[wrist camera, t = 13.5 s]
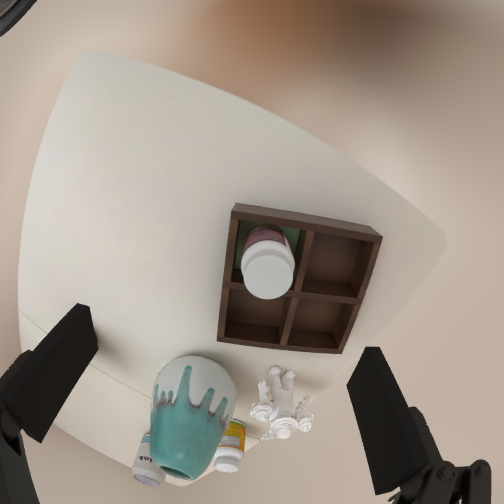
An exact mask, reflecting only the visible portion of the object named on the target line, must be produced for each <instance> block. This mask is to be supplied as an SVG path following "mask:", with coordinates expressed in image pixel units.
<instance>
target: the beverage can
mask: <svg viewBox="0 0 504 504" xmlns="http://www.w3.org/2000/svg"><path fill="white" fill-rule="evenodd" d="M132 471H133V477H134V478H135V479H136V480H138V481H139V482H142V483H144V484H147V485H151V486H159V485H160V483H162V482H163V481H164V480H165V476H166V473H164V472H162V471H161V470H159V469H158V468H157V467H155V465H154V464H153V462H152V459H151V456H150V434H145V435H144V436H143V438H142V441H141V444H140V446H139V449H138V452H137V455H136V458H135V461H134V464H133V467H132Z"/></svg>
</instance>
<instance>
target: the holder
mask: <svg viewBox="0 0 504 504" xmlns="http://www.w3.org/2000/svg"><path fill="white" fill-rule="evenodd" d="M262 224H270V225H275V226H277V227H279V228H280V229H281V230H283V232H284V233H285V234H286V236H287V239H288V242H289V245H290V248H291V251H292V255H293V257H294V261H295V267H294V272H293V281H292V284H291V286H290V288H289V289H288V291H287V292H286V293H285V294H283V295H282V296H280V297H277V298H274V299H261V298H258V297H256V296H254V295H253V294H252V293H250V292H249V290H248V289H247V288H246V286H245V283H244V276H243V274H242V271H241V260H242V255H243V248H244V243H245V239H246V236H247V234H248V233H249V232H250V231H251V230H252V229H253V228H254V227H256V226H259V225H262ZM382 238H383V236H382V235H380V234H379V233H378V232H376V231H375V230H374V229H372V228H371V227H370V226H366V225H361V224H356V223H351V222H346V221H341V220H336V219H330V218H325V217H320V216H314V215H308V214H303V213H297V212H291V211H285V210H279V209H273V208H266V207H260V206H253V205H246V204H239V203H235V205H234V207H233V209H232V211H231V219H230V226H229V234H228V242H227V250H226V259H225V267H224V276H223V284H222V294H221V303H220V312H219V322H218V332H217V341H219V342H225V343H232V344H239V345H246V346H254V347H262V348H270V349H279V350H289V351H301V352H313V353H329V354H342V352H343V349H344V347H345V345H346V342H347V340H348V338H349V335H350V333H351V330H352V328H353V325H354V323H355V320H356V317H357V315H358V312H359V309H360V307H361V304H362V301H363V298H364V295H365V292H366V290H367V287H368V284H369V281H370V278H371V275H372V271H373V268H374V265H375V262H376V258H377V255H378V252H379V248H380V245H381V242H382Z"/></svg>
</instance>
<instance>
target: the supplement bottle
mask: <svg viewBox="0 0 504 504" xmlns="http://www.w3.org/2000/svg"><path fill="white" fill-rule="evenodd" d="M244 445H245V425H244V424H243V423H242V422H240V421H238V420H234V419H231V421H230V423H229V426H228V428H227V430H226V433H225V435H224V436H223V438H222V440H221V442H220V444H219V446H218V448H217V450H216V453H215V455H214V458H215V459H216V460H215V466H214V467H215V469H217V470H219V471H222V472H235V471H237V470H238V469H239V461H241V460H242V458H243V457H244Z"/></svg>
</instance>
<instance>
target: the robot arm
mask: <svg viewBox="0 0 504 504" xmlns="http://www.w3.org/2000/svg"><path fill="white" fill-rule="evenodd" d="M19 2H20V0H0V19H2V18H3V17H4V16H6V15H7V14H8V13H9V12H10V11H11V10H12V9H13V8H14V7H15V6H16V5H17V4H18V3H19ZM98 350H99V348H98V344H97V340H96V336H95V331H94V327H93V322H92V317H91V312H90V307H89V306H86V305H82V304H79V303H77V304H76V305H75V306H74V307H73V308H72V309H71V310H70V311H69V312H68V313H67V314H66V315H65V316H64V317H63V318H62V319H61V320H60V321H59V323H58V324H57V325H56V326H55V327H54V328H53V329H52V330H51V331H50V332H49V333H48V334H47V336H46V337H45V338H44V339H43V340H42V341H41V342H40V343H39V345H38V346H37V347H36V348H35V349H34V350H33V351H31V350H27V351H26V352H24V353H22V354H21V355H19V357H18V358H17V359H16V360H15V361H14V364H12V365H11V366H10V367H9V370H7V371H6V372H5V373H4V374H3V376H2V377H1V378H0V504H40V503H39V500H38V497H37V494H36V491H35V488H34V485H33V482H32V478H31V474H30V471H29V467H28V463H27V458H26V454H25V449H24V444H23V439H22V435H21V433H20V431H21V429H23V430H24V431H25V432H26V434H27V435H28V436H30V437H31V438H33V439H34V440H36V441H37V442H39V443H42V441H43V439H44V437H45V435H46V433H47V432H48V430H49V428H50V426H51V425H52V423H53V421H54V419H55V418H56V416H57V414H58V412H59V411H60V409H61V407H62V406H63V404H64V402H65V401H66V399H67V397H68V396H69V394H70V393H71V391H72V389H73V388H74V386H75V385H76V383H77V381H78V380H79V378H80V377H81V375H82V374H83V372H84V371H85V369H86V367H87V366H88V364H89V363H90V361H91V360H92V358H93V357H94V355H95V354H96V352H97V351H98ZM346 386H347V389H348V392H349V396H350V399H351V403H352V406H353V409H354V413H355V416H356V420H357V424H358V427H359V430H360V434H361V438H362V442H363V446H364V450H365V453H366V457H367V461H368V465H369V469H370V473H371V477H372V482H373V486H374V490H375V495H380V494H384V493H388V492H391V491H393V490H394V489H396V488H397V487H399V486H400V490H401V491H399V492H398V493H397V494H395V495H393V496H392V497H390V499H389V500H388V501H389V502H390V501H392V500H393V499H395V500H394V502H393V503H392V504H459V500H461V499H462V501H461V504H491V468H490V465H489V464H488V462H486V461H485V460H477V461H475V462H474V463H473V464H471V465H470V466H465V467H455V466H454V465H453V464H452V463H451V462H449V461H443V459H442V458H441V455H440V453H439V451H438V448H437V446H436V444H435V441H434V439H433V437H432V434H431V433H430V430H429V427H428V425H426V424H427V423H426V421H425V419H424V416H423V414H422V413H421V412H420V411H419V410H418V409H417V408H416V407H415V406H414V407H408V405H407V403H406V401H405V399H404V397H403V394H402V392H401V390H400V388H399V386H398V384H397V382H396V380H395V377H394V375H393V373H392V371H391V369H390V367H389V365H388V363H387V361H386V359H385V357H384V355H383V353H382V351H381V349H380V347H365V349H364V351H363V354H362V356H361V358H360V360H359V362H358V364H357V366H356V368H355V370H354V372H353V374H352V376H351V378H350V380H349V382H348V383H347V385H346Z"/></svg>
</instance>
